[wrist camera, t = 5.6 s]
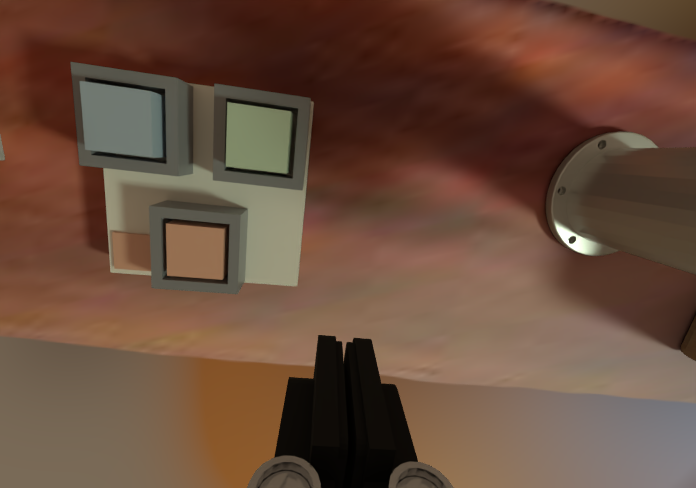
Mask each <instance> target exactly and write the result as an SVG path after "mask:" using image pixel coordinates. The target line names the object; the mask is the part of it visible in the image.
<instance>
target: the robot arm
mask: <svg viewBox="0 0 696 488" xmlns="http://www.w3.org/2000/svg"><path fill="white" fill-rule="evenodd" d="M546 216H547V221H548V225H549V227H550V229H551V231H552V234H553V235H554V236H555V238H556V239H557V240H558V241H559V242H560V243H561V244H562V245H563V246H565V247H566V248H568V249H570V250H572V251H575V252H577V253H581V254H584V255H589V256H602V255H608V254H611V253H615V252H618V251H623V252H626V253H629V254H632V255H635V256H639V257H642V258H645V259H648V260H651V261H654V262H657V263H660V264H664V265H667V266H670V267H673V268H676V269H679V270H682V271H685V272H689V273H692V274H695V275H696V147H684V148H658V147H657V146H656V145H655V144H654V143H653V142H652V141H651V140H650V139H648V138H646V137H645V136H643V135H640V134H637V133H633V132H610V133H605V134H601V135H597V136H595V137H593V138H591V139H589V140H587V141H585V142H583V143H582V144H580V145H579V146H578V147H576V148H575V149H574V150H573V151H572V152H571V153H570V154H569V155H568V156H567V157H566V158H565V159H564V160H563V162H562V163H561V164H560V166H559V167H558V168H557V170H556V172H555V174H554V176H553V178H552V180H551V183H550V186H549V189H548V192H547V199H546ZM247 488H453V486H452V485H451V483H450V482H449V481H448V479H447V478H446V477H445V476H444V475H443V474H442V473H441V472H440V471H438V470H436V469H435V468H433V467H432V466H430V465H427V464H424V463H421V462H418V460H417V456H416V453H415V449H414V446H413V442H412V439H411V435H410V432H409V428H408V425H407V421H406V418H405V414H404V411H403V407H402V404H401V400H400V397H399V394H398V390H397V387H396V386H395V385H394V384H381V380H380V376H379V371H378V367H377V362H376V358H375V353H374V349H373V344H372V340H371V339H362V338H354V339H353V342H347V344H346V350H345V357H344V364H343V349H342V342H341V341H336V337H335V336H325V335H318V343H317V352H316V361H315V369H314V378H313V379H308V378H294V377H289V380H288V385H287V391H286V396H285V402H284V408H283V412H282V418H281V424H280V429H279V435H278V441H277V446H276V452H275V457H274V458H272V459H271V460H269V461H267V462H265V463H264V464H262V465H261V466H260V467H259V468H258V469H257V470H256V472H255V473H254V475H253V476H252V478H251V480H250V482H249V484H248V487H247Z"/></svg>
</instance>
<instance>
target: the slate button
mask: <svg viewBox="0 0 696 488" xmlns="http://www.w3.org/2000/svg"><path fill="white" fill-rule="evenodd" d="M80 93H81V105H82V117H83V129H84V142H85V150H92V151H100V152H109V153H117V154H126V155H134V156H142V157H151V158H160V157H167V156H166V106H165V96H162V95H160V94H157V93H154V92H152V91H147V90H140V89H133V88H126V87H119V86H112V85H105V84H98V83H91V82H84V81H80Z"/></svg>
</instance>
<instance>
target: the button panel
mask: <svg viewBox="0 0 696 488" xmlns="http://www.w3.org/2000/svg"><path fill="white" fill-rule="evenodd" d="M71 73H72V85H73V96H74V108H75V119H76V131H77V142H78V153H79V165H82V166H91V167H99V168H103V170H104V185H105V199H106V214H107V228H108V242H109V257H110V271H111V272H113V273H126V274H140V275H151V281H152V288H157V289H171V290H185V291H199V292H214V293H228V294H238V293H239V291H240V289H241V287H242V285H243V283H244V282H246V283H259V284H273V285H286V286H297V283H298V275H299V264H300V253H301V242H302V231H303V220H304V208H305V197H306V186H307V175H308V164H309V153H310V142H311V131H312V120H313V109H314V102H312V101H311V98H307V97H301V96H294V95H287V94H281V93H274V92H268V91H261V90H254V89H248V88H241V87H234V86H228V85H221V84H215V83H214V87H212V86H205V85H198V84H192V83H186V82H184V81H182V80H180V79H179V78H175V77H168V76H161V75H155V74H148V73H142V72H135V71H128V70H122V69H115V68H108V67H102V66H95V65H89V64H82V63H75V62H71ZM80 81H84V82H91V83H98V84H105V85H112V86H119V87H126V88H133V89H140V90H147V91H152V92H154V93H157V94H160V95H162V96H165V106H166V156H167V157H160V158H151V157H142V156H134V155H126V154H117V153H109V152H100V151H92V150H85V142H84V129H83V117H82V105H81V93H80ZM227 102H230V103H237V104H244V105H251V106H257V107H264V108H271V109H278V110H285V111H291V112H292V114H293V125H292V138H291V151H290V165H289V172H288V173H287V174H285V173H276V172H268V171H259V170H251V169H243V168H234V167H226V136H227ZM174 219H181V220H191V221H201V222H211V223H222V224H230V228H229V260H228V273H227V274H226V276H225V277H224V278H223V280H218V279H205V278H192V277H179V276H167V251H166V223H168V222H170V221H172V220H174Z"/></svg>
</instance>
